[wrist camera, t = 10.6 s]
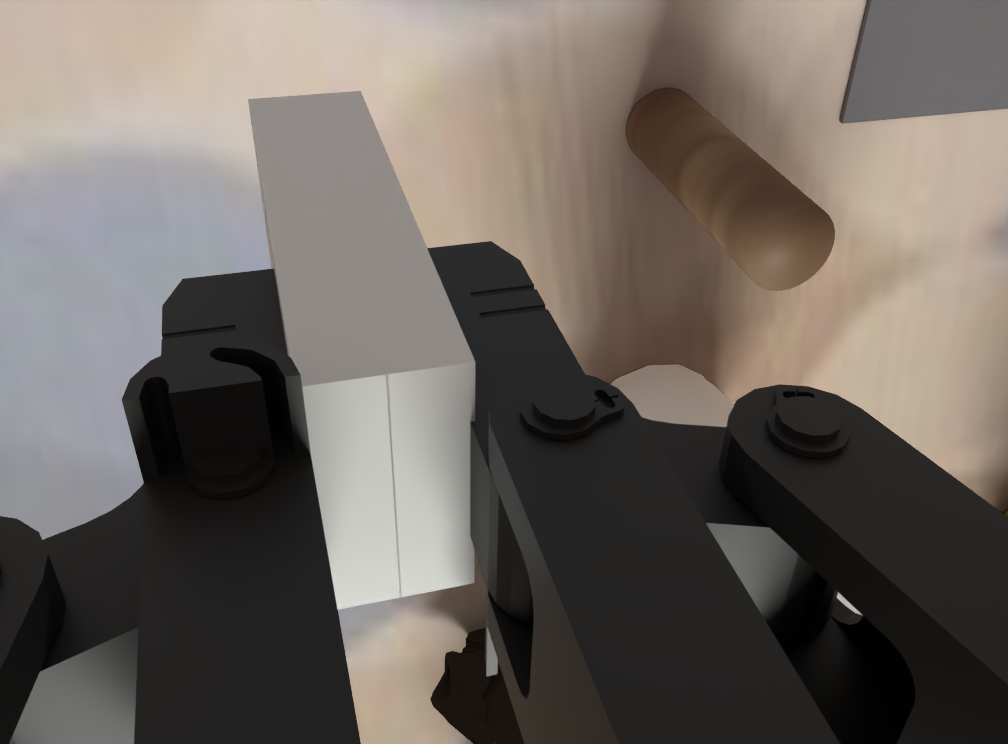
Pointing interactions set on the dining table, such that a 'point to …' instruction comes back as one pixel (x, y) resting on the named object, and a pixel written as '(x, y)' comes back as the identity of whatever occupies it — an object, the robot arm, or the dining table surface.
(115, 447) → the dining table surface
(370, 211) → the robot arm
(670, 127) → the post
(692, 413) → the foam cup
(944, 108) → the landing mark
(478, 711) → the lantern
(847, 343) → the dining table surface
